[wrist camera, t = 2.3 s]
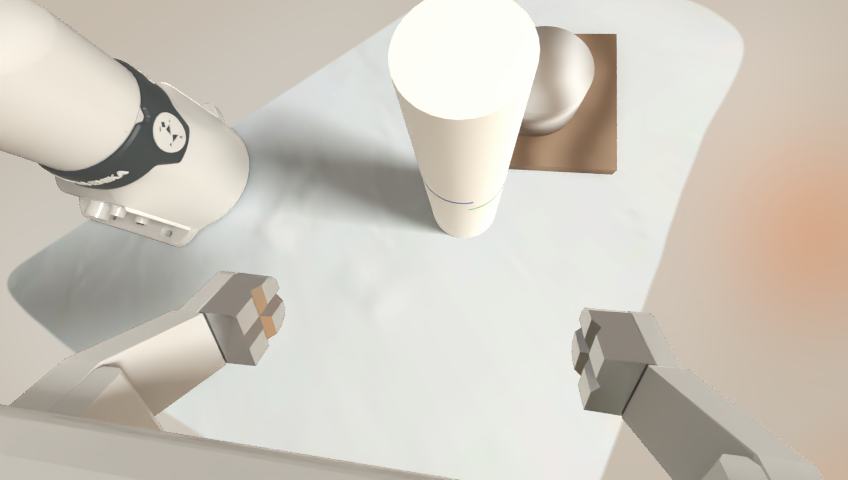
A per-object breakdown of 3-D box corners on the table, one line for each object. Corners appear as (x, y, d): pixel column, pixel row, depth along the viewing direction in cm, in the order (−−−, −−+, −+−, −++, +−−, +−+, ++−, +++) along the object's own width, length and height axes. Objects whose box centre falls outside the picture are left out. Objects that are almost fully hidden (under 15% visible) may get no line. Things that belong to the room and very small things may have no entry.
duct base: (450, 165, 43) (448, 140, 37) (462, 40, 46) (462, -2, 40) (612, 174, 40) (638, 149, 34) (612, 41, 44) (635, -3, 38)
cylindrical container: (434, 177, 43) (394, -9, 18) (496, 178, 42) (540, -15, 18) (431, 236, 41) (381, 119, 17) (495, 239, 40) (540, 119, 16)
